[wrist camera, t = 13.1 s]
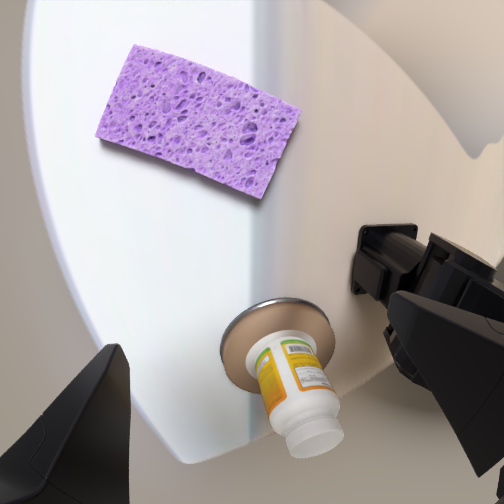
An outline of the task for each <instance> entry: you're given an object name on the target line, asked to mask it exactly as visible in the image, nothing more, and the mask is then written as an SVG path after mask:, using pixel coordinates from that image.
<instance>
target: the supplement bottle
mask: <svg viewBox="0 0 504 504" xmlns="http://www.w3.org/2000/svg"><path fill="white" fill-rule="evenodd" d="M255 370H256V374H257V378H258V382H259V385H260V389H261V393H262V396H263V400H264V404H265V407H266V411H267V414H268V418H269V421H270V424H271V427H272V429H273V430H274V431H275V432H276V433H277V434H279V435H281V436H284V437H285V441H286V445H287V448H288V450H289V453H290V455H291V456H292V457H294V458H301V459H302V458H310V457H314V456H317V455H320V454H323V453H325V452H327V451H329V450H331V449H333V448H334V447H335V446H337V445H338V444H339V443H340V442H341V441H342V440H343V438H344V431H343V429H342V427H341V424H340V422H339V421H338V419H337V418H336V417H337V415H338V413H339V410H340V402H339V399H338V397H337V395H336V393H335V391H334V389H333V387H332V386H331V384H330V382H329V380H328V378H327V376H326V374H325V372H324V370H323V368H322V366H321V365H320V363H319V361H318V359H317V357H316V355H315V353H314V351H313V349H312V348H311V346H310V344H309V343H308V342H307V341H305V340H304V339H301V338H299V337H292V336H288V337H281V338H278V339H275V340H273V341H271V342H270V343H268V344H266V345H265V346H264V347H263V348H262V349H261V350H260V351H259V352H258V354H257V356H256V358H255Z"/></svg>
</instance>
